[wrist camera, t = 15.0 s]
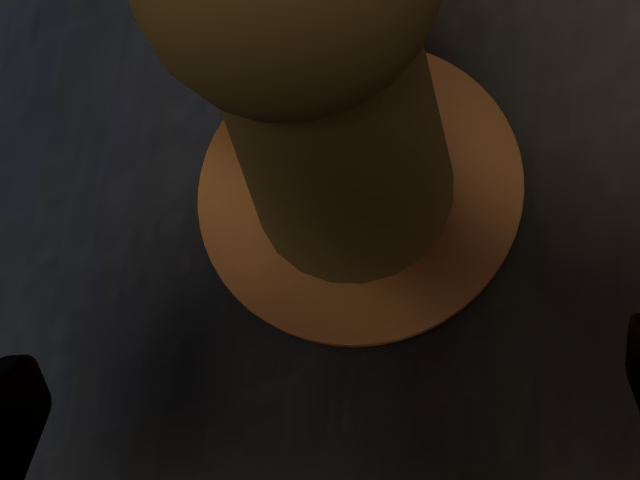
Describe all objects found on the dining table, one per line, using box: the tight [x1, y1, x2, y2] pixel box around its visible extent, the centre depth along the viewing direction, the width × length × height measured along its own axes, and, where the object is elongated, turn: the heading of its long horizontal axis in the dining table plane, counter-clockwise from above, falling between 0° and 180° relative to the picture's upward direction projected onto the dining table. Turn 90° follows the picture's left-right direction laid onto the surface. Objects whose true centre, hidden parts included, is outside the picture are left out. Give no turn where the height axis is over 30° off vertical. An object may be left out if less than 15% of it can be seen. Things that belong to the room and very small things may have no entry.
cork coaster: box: [198, 53, 524, 348], centre depth 19 cm, size 10×10×1 cm
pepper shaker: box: [129, 0, 454, 284], centre depth 13 cm, size 6×6×11 cm
